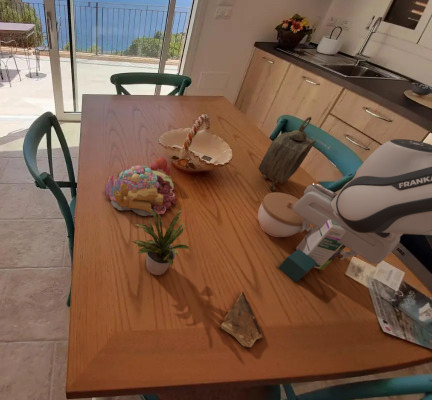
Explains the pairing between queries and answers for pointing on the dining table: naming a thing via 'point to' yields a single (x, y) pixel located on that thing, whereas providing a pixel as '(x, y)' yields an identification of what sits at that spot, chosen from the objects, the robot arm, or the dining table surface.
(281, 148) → the old cowbell
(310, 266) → the block
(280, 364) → the dining table surface
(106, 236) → the dining table surface
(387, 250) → the robot arm
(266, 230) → the lidded bowl
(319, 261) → the syrup box
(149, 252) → the house plant
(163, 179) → the candy landscape model
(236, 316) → the shard
